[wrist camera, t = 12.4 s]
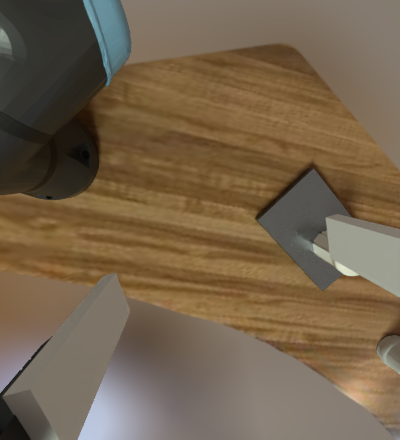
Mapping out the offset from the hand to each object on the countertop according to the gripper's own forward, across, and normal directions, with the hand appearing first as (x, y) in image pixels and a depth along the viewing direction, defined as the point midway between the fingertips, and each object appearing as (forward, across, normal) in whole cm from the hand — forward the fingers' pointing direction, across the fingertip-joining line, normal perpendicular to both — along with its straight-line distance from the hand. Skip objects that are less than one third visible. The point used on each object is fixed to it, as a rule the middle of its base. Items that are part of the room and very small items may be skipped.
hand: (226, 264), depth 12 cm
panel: (+27, +22, -12) cm, 36 cm away
